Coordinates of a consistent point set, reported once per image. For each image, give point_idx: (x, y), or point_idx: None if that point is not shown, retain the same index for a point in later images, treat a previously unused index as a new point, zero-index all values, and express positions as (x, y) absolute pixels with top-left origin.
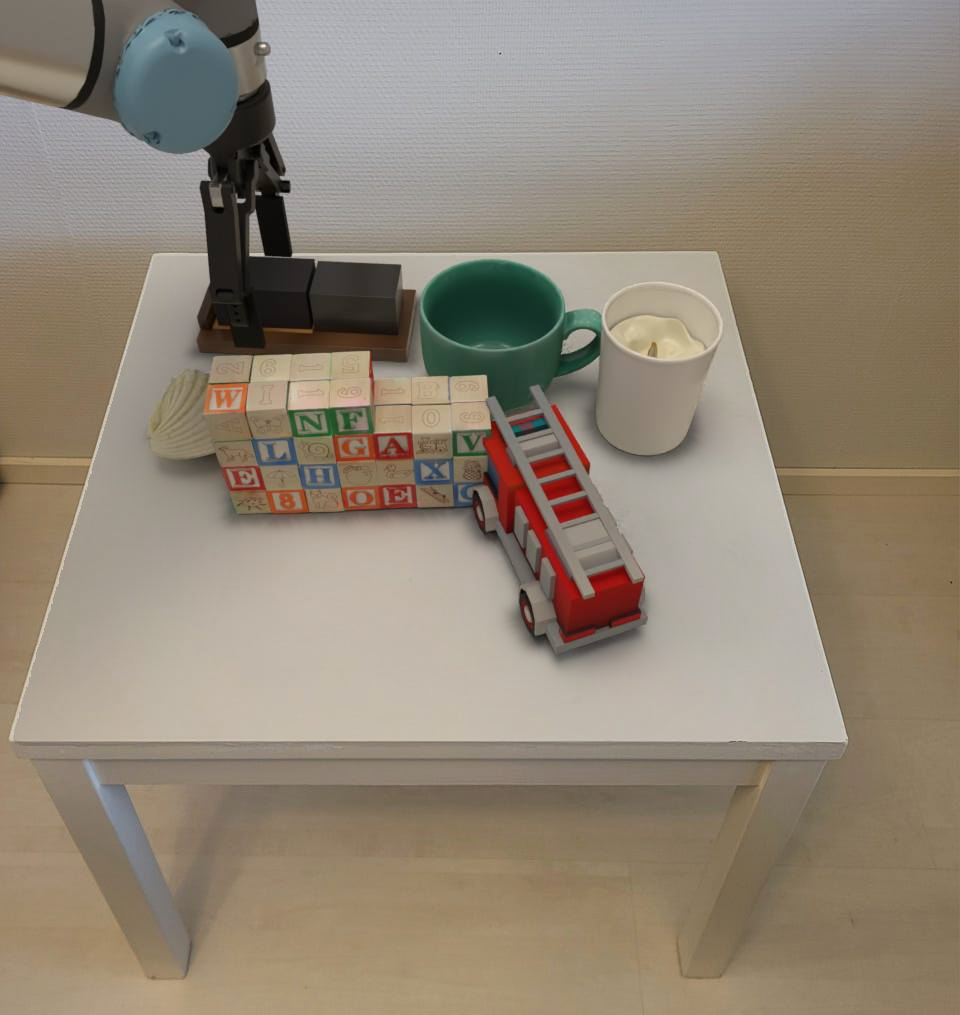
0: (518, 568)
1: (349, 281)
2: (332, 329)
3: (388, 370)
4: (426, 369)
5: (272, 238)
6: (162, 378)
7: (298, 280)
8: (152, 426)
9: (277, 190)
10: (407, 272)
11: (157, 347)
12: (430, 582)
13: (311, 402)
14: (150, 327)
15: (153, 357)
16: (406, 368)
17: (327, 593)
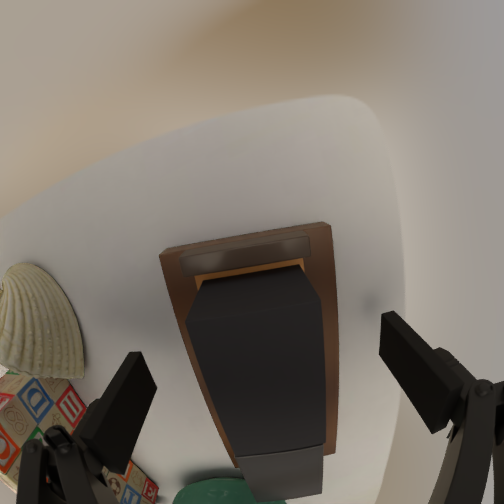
0: None
1: (277, 478)
2: None
3: (218, 447)
4: (190, 495)
5: (397, 353)
6: (102, 217)
7: (262, 444)
8: (3, 283)
9: (450, 438)
10: (380, 419)
11: (158, 174)
12: None
13: (16, 493)
14: (202, 137)
15: (136, 180)
16: (226, 456)
17: None
